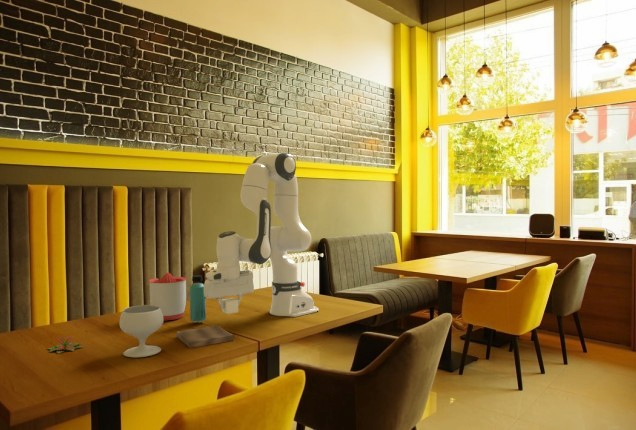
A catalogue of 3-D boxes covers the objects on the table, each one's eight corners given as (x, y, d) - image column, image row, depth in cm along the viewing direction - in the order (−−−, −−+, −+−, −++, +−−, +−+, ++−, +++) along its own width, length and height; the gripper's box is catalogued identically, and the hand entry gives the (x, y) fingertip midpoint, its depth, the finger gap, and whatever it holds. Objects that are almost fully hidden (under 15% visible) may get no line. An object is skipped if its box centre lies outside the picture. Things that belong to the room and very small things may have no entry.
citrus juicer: (179, 311, 223) (178, 268, 222) (192, 318, 209) (191, 272, 208) (144, 316, 214) (143, 271, 214) (155, 324, 200) (154, 276, 199)
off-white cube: (233, 309, 197) (233, 297, 197) (238, 312, 193) (238, 299, 193) (222, 311, 195) (221, 299, 194) (226, 314, 191) (226, 301, 190)
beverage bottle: (202, 325, 197) (201, 277, 197) (187, 324, 199) (186, 276, 198) (209, 321, 204) (208, 274, 203) (194, 320, 205) (193, 274, 204)
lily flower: (74, 342, 177) (73, 330, 177) (91, 348, 170) (90, 335, 170) (39, 351, 168) (39, 338, 168) (55, 357, 161) (55, 344, 160)
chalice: (158, 343, 173) (157, 302, 173) (169, 354, 161) (168, 310, 161) (116, 350, 166) (115, 307, 165) (124, 362, 154) (123, 315, 153)
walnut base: (217, 330, 190) (217, 325, 190) (233, 340, 177) (232, 335, 176) (177, 336, 182) (176, 331, 182) (189, 348, 168) (189, 342, 168)
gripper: (249, 268, 201) (250, 301, 202) (201, 274, 190) (203, 308, 191) (255, 270, 196) (257, 304, 197) (206, 276, 185) (208, 312, 186)
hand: (230, 306), depth 194 cm, fingers closed on off-white cube, 5 cm apart
